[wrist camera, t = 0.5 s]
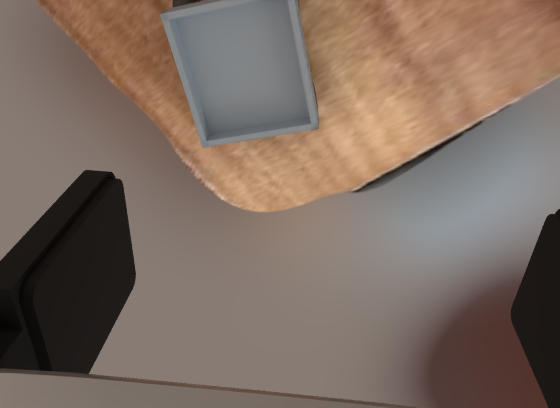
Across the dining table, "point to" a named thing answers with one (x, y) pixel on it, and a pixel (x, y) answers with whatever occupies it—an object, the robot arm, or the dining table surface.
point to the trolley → (242, 68)
